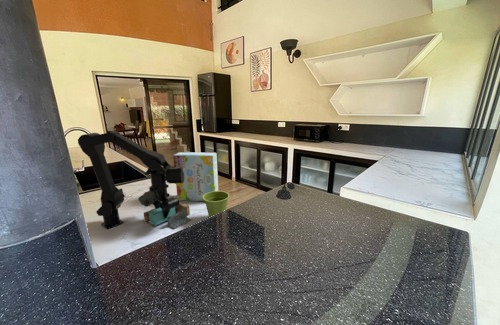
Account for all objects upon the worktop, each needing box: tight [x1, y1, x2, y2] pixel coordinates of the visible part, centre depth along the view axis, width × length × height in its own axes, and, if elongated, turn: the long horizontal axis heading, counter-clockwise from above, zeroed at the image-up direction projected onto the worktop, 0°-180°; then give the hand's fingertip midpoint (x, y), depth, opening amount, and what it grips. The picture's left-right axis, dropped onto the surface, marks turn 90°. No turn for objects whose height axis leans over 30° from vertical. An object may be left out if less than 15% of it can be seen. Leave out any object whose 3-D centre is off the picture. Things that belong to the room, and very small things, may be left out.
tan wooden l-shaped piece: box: [143, 201, 191, 224], centre depth 96 cm, size 11×16×4 cm
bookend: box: [166, 210, 192, 230], centre depth 92 cm, size 4×9×4 cm, turn 145°
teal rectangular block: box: [149, 207, 176, 227], centre depth 93 cm, size 4×10×5 cm, turn 144°
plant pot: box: [203, 190, 230, 218], centre depth 95 cm, size 12×12×11 cm
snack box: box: [172, 151, 219, 202], centre depth 114 cm, size 22×9×26 cm, turn 84°
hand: (162, 216), depth 93 cm, fingers closed on teal rectangular block, 4 cm apart
